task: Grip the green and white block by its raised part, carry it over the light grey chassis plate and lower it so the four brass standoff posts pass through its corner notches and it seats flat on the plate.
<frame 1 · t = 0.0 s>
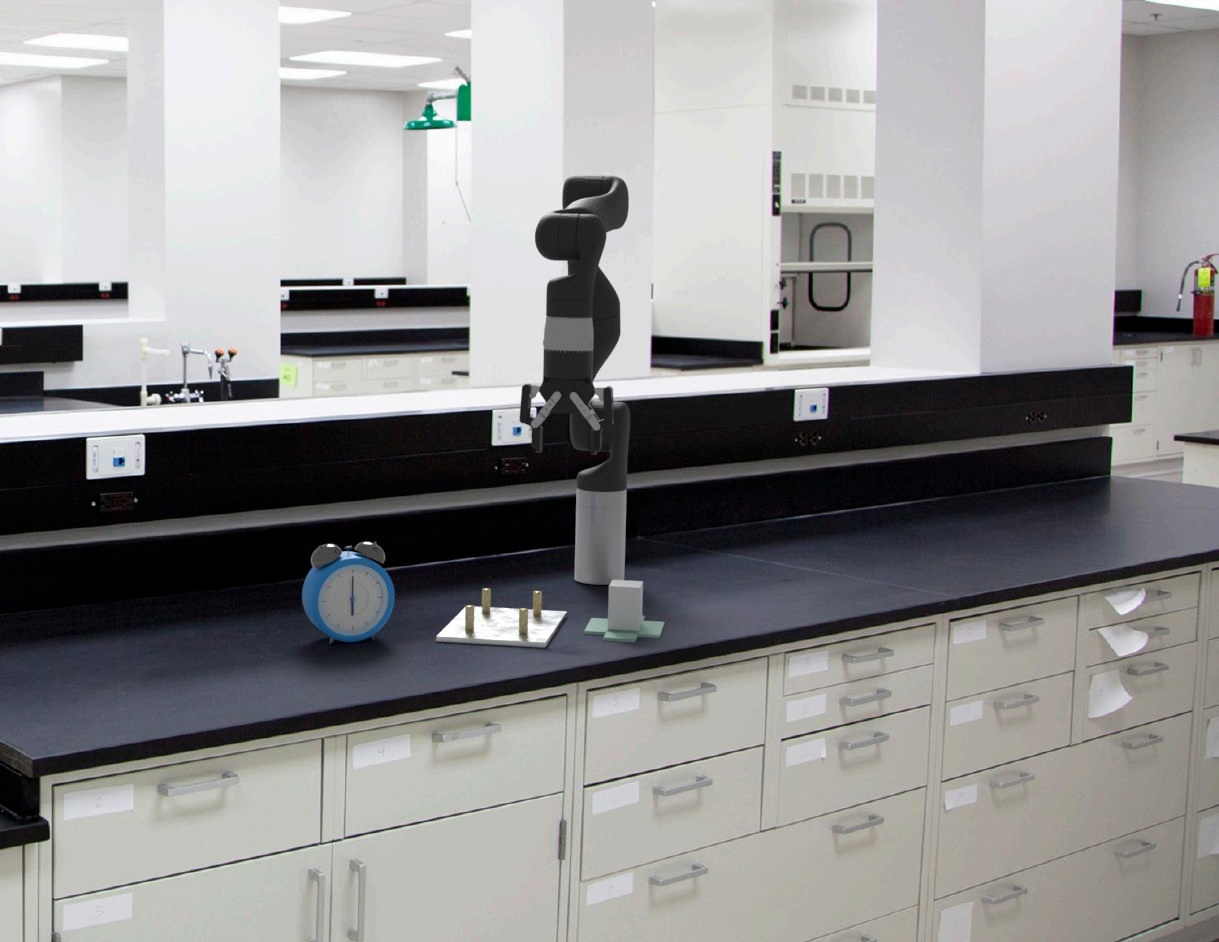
hand: (566, 453, 230), 29 cm above the countertop, fingers open, 8 cm apart
chassis plate: (504, 628, 240), on the countertop
alarm clock: (348, 640, 231), on the countertop
green and white block: (624, 631, 242), on the countertop
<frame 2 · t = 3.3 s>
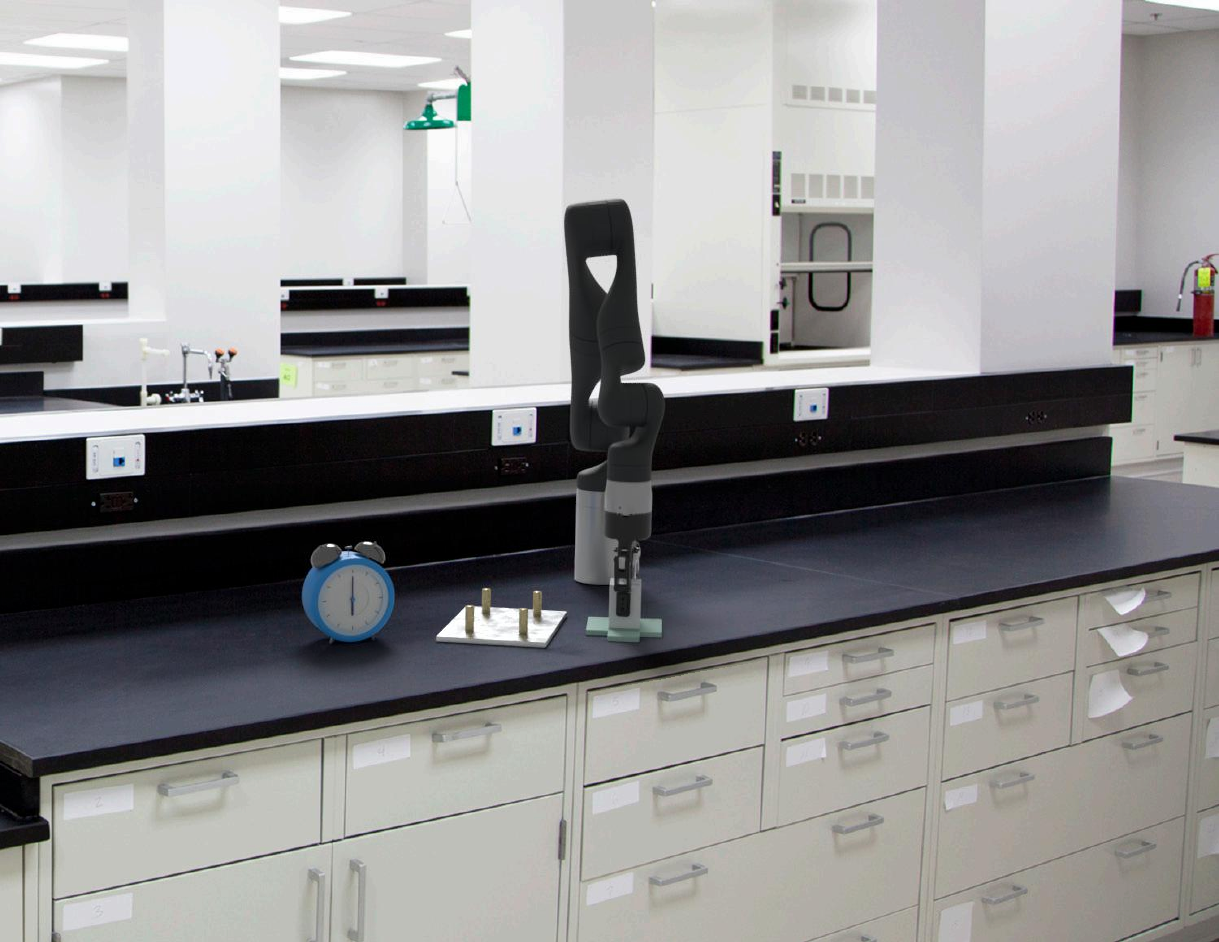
hand: (625, 611, 242), 3 cm above the countertop, fingers closed on green and white block, 5 cm apart
green and white block: (624, 629, 242), on the countertop, touching gripper
everything else where it was.
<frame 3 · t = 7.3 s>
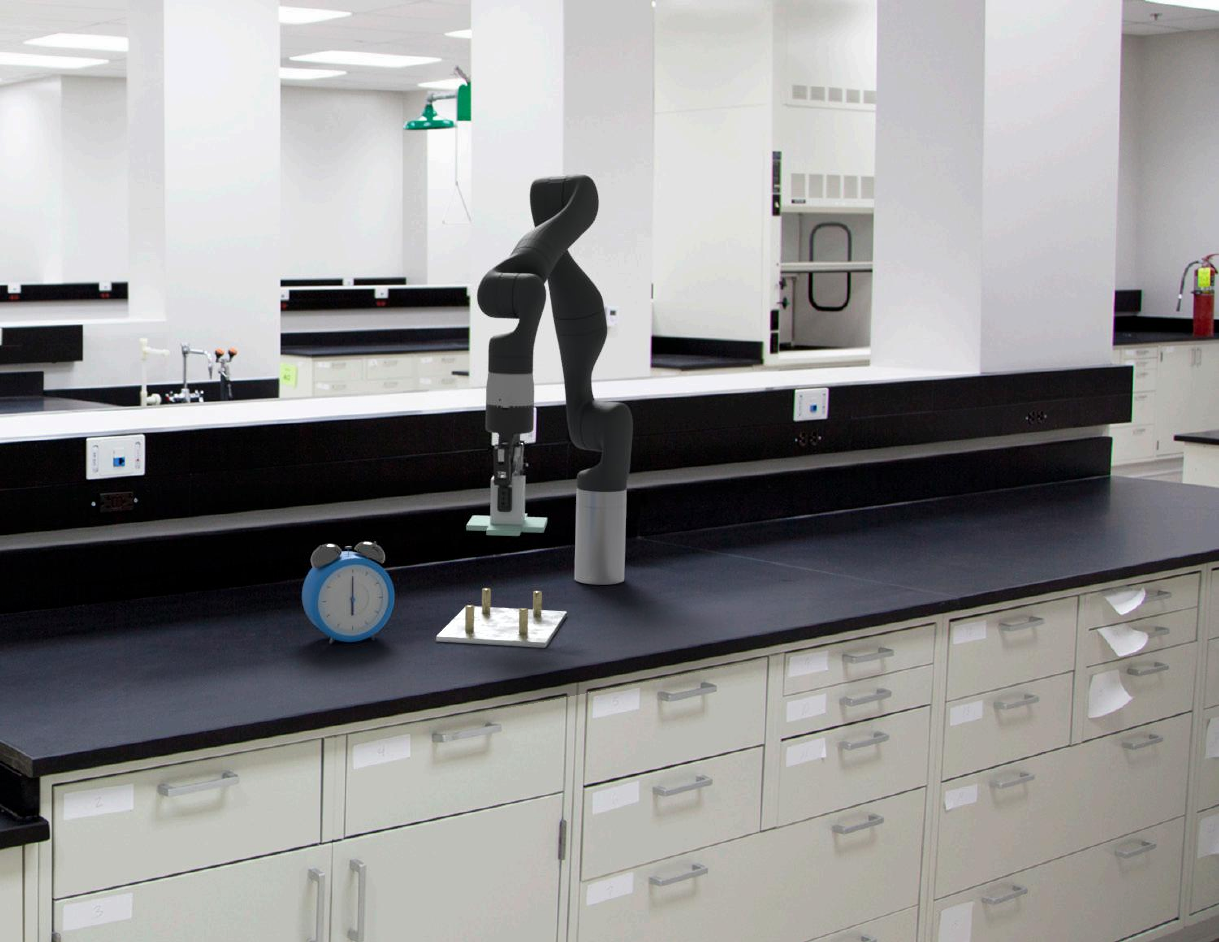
hand: (508, 508, 238), 19 cm above the countertop, fingers closed on green and white block, 5 cm apart
green and white block: (507, 526, 238), point 17 cm above the countertop, touching gripper
everything else where it was.
when the fingers open (5 cm above the countertop, at t = 11.7 s): green and white block drops 1 cm, resting on chassis plate.
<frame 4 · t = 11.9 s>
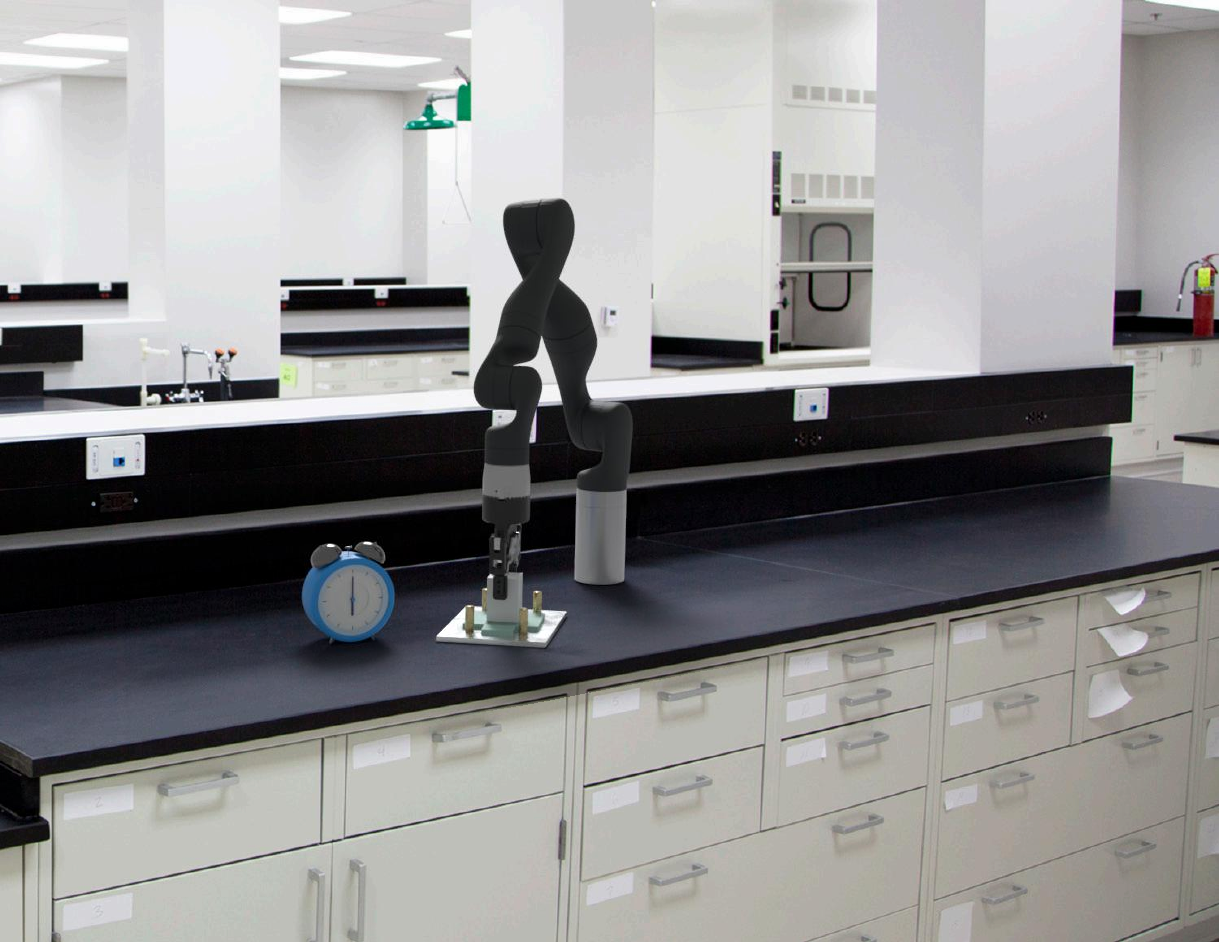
hand: (504, 594, 240), 6 cm above the countertop, fingers open, 7 cm apart
green and white block: (504, 623, 240), point 1 cm above the countertop, touching chassis plate
everything else where it was.
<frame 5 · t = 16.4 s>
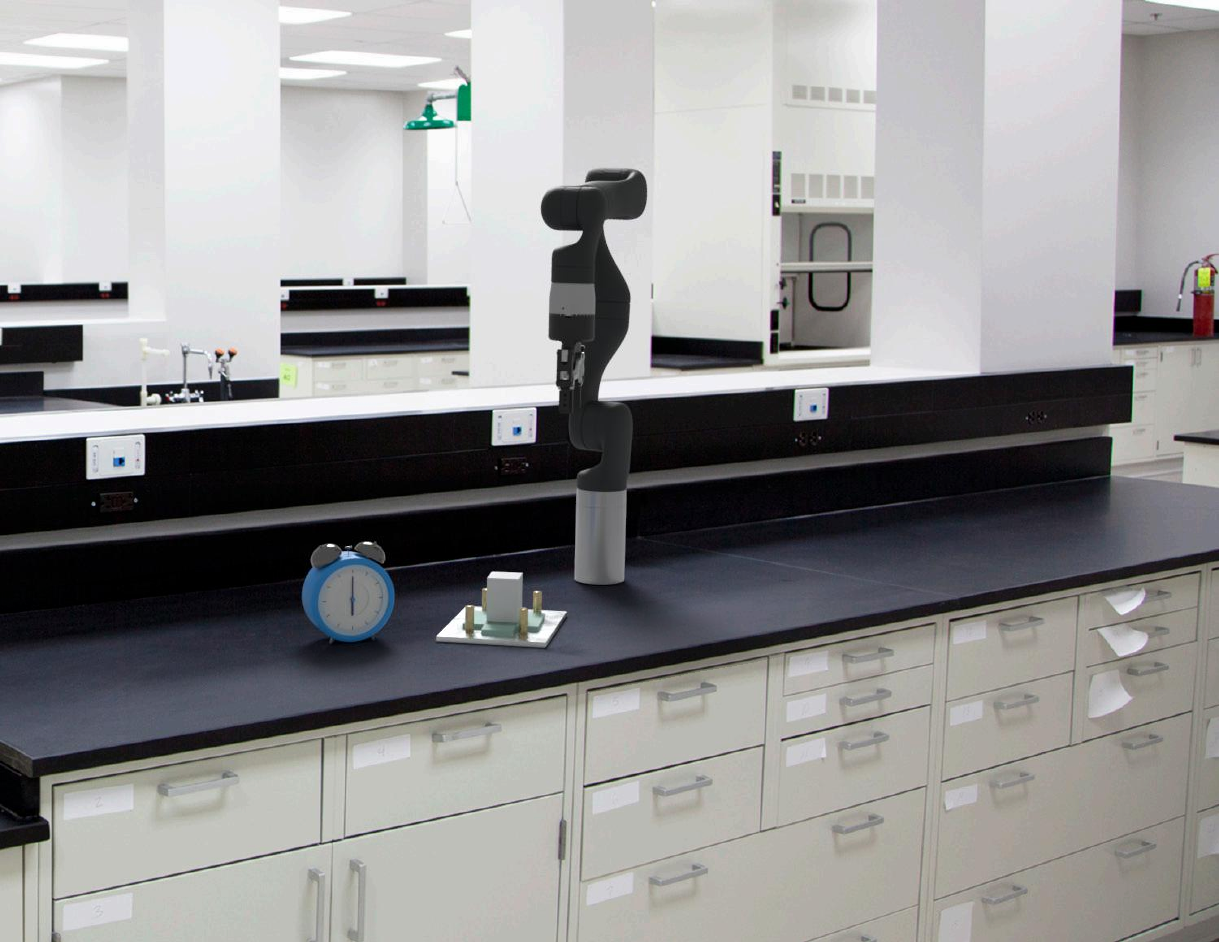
hand: (569, 410, 247), 34 cm above the countertop, fingers open, 8 cm apart
nothing on the countertop moved.
at the end: green and white block 0.2 cm off-centre on the chassis plate, point 0.8 cm above the chassis plate's base; green and white block tilted 0°; the gripper is holding nothing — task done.
